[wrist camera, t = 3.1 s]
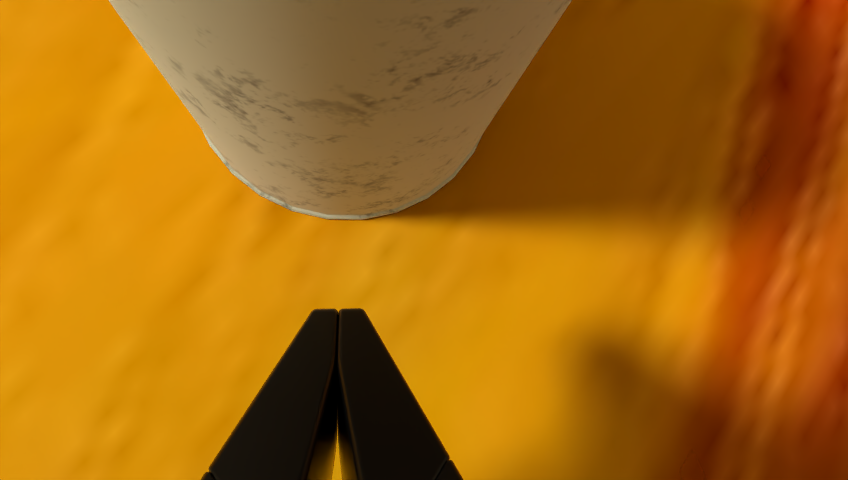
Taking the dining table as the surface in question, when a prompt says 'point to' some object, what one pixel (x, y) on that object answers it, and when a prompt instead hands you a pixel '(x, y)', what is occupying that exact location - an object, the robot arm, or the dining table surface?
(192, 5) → the grey stubby cylinder
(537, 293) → the dining table surface
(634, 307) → the dining table surface
